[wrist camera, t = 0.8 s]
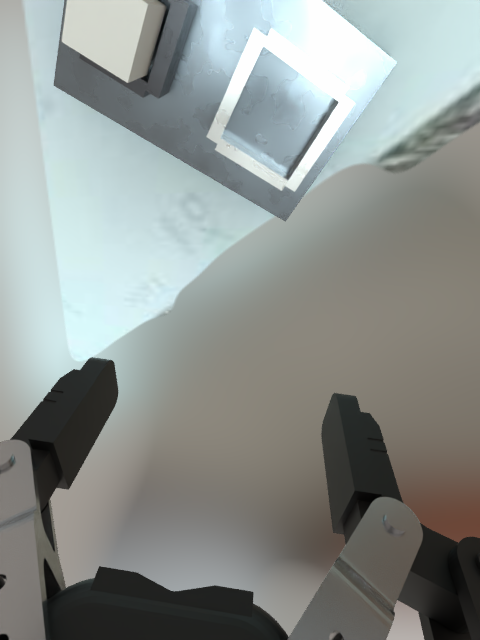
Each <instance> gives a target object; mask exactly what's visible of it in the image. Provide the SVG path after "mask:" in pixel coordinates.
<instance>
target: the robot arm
mask: <svg viewBox="0 0 480 640" xmlns="http://www.w3.org/2000/svg"><path fill="white" fill-rule="evenodd" d="M117 397H118V386H117V379H116V372H115V365H114V362H113V361H112V360H107V359H100V358H93V357H92V358H90V359H88V361H87V362H86V363H85V365H84V366H83V367H82V369H81V370H75V369H74V370H72V371H70V372H69V373H67V374H66V375H64V376H63V377H61V378H60V379H59V380H58V382H57V383H56V384H55V385H54V387H53V388H52V389H51V392H49V393H48V394H47V395H46V396H45V398H44V399H43V402H41V403H40V404H39V405H38V406H37V408H36V409H35V410H34V411H33V413H32V414H31V415H30V416H29V417H28V419H27V420H26V421H25V422H24V424H23V425H22V426H21V427H20V429H19V430H18V431H17V432H16V434H15V435H14V436H13V437H12V438H11V439H10V440H6V441H2V442H0V640H386V638H387V636H388V633H389V631H390V629H391V626H392V623H393V620H394V616H395V613H394V607H395V604H396V601H397V600H399V601H400V602H402V603H404V604H406V605H408V606H410V607H411V608H413V609H415V610H417V611H418V612H419V617H420V621H421V626H422V630H423V635H424V639H425V640H480V538H477V537H466V538H464V539H462V540H461V541H460V542H459V543H458V542H455V541H454V540H451V539H449V538H447V537H445V536H443V535H441V534H439V533H437V532H435V531H432V530H431V529H429V528H427V527H425V526H424V525H422V524H421V523H420V522H419V520H418V518H417V517H416V515H415V514H414V513H413V511H412V510H411V509H410V508H409V507H407V506H406V505H405V504H404V503H403V501H402V498H401V495H400V492H399V489H398V486H397V483H396V479H395V476H394V473H393V469H392V466H391V463H390V460H389V456H388V454H387V450H386V446H385V443H383V437H382V433H381V430H380V427H379V425H378V424H377V422H376V421H375V420H374V418H372V416H371V414H370V413H364V412H360V408H359V404H358V401H357V398H356V396H351V395H344V394H337V393H334V394H333V395H332V397H331V400H330V403H329V406H328V409H327V412H326V415H325V417H324V420H323V424H322V444H323V453H324V462H325V469H326V478H327V486H328V495H329V503H330V511H331V519H332V528H333V533H338V534H344V536H345V543H346V546H345V547H344V549H343V550H342V552H341V554H340V555H339V557H338V558H337V560H336V561H335V563H334V565H333V566H332V568H331V570H330V571H329V573H328V574H327V576H326V578H325V579H324V581H323V582H322V584H321V586H320V587H319V589H318V591H317V592H316V594H315V596H314V597H313V599H312V601H311V602H310V604H309V605H308V607H307V609H306V610H305V612H304V613H303V615H302V617H301V618H300V620H299V622H298V623H297V625H296V626H295V628H294V630H293V632H292V633H291V635H290V636H289V637H288V635H287V634H286V632H285V631H284V630H283V628H282V627H281V626H280V625H279V623H277V621H276V620H275V619H274V618H273V617H272V616H270V615H269V614H268V613H267V612H266V611H264V610H263V609H262V608H260V607H258V606H257V605H255V604H253V592H251V591H245V590H239V589H232V588H227V587H220V586H210V587H203V588H196V589H191V590H183V591H175V592H174V591H170V590H168V589H166V588H164V587H163V586H161V585H159V584H157V583H155V582H153V581H151V580H149V579H148V578H146V577H144V576H142V575H140V574H138V573H136V572H130V571H124V570H118V569H111V568H106V567H99V569H98V571H97V574H96V576H95V578H93V579H88V580H85V581H81V582H79V583H76V584H74V585H72V586H69V587H67V588H66V586H65V581H64V576H63V572H62V568H61V565H60V560H59V556H58V548H57V541H56V534H55V528H54V521H53V514H52V507H51V501H50V497H51V496H52V494H53V492H54V491H55V489H56V488H62V489H69V488H70V486H71V484H72V483H73V481H74V479H75V477H76V476H77V474H78V472H79V470H80V468H81V467H82V464H83V463H84V461H85V459H86V457H87V456H88V454H89V452H90V450H91V448H92V447H93V445H94V443H95V441H96V439H97V438H98V436H99V434H100V432H101V430H102V428H103V427H104V425H105V423H106V421H107V420H108V418H109V416H110V414H111V412H112V410H113V409H114V407H115V404H116V402H117Z"/></svg>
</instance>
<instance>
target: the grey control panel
mask: <svg viewBox="0 0 480 640" xmlns="http://www.w3.org/2000/svg"><path fill="white" fill-rule="evenodd" d="M158 1H160V2H161V3H163V4H164V5H166V6H167V8H166V11H165V15H164V18H163V22H162V25H161V28H160V32H159V35H158V39H157V42H156V46H155V49H154V53H153V56H152V60H151V63H150V67H149V70H148V74H147V75H146V76H144V77H141V78H139V79H136V80H134V81H131V82H129V83H127V82H125V81H124V80H122V79H120V78H119V77H117V76H116V75H114V74H112V73H111V72H109V71H108V70H106V69H104V68H103V67H101V66H100V65H98V64H96V63H95V62H93V61H92V60H90V59H88V58H87V57H85V56H84V55H82V54H80V53H79V52H77V51H76V50H74V49H72V48H71V47H69V46H68V45H66V44H64V43H63V42H62V34H63V27H64V19H65V12H66V4H67V0H65V1H64V9H63V17H62V25H61V32H60V40H59V48H58V56H57V63H56V71H55V79H54V86H56V87H57V88H59V89H61V90H62V91H64V92H66V93H67V94H69V95H71V96H73V97H74V98H76V99H78V100H79V101H81V102H83V103H84V104H86V105H88V106H90V107H91V108H93V109H95V110H96V111H98V112H100V113H102V114H103V115H105V116H107V117H108V118H110V119H112V120H113V121H115V122H117V123H119V124H120V125H122V126H124V127H125V128H127V129H129V130H130V131H132V132H134V133H136V134H137V135H139V136H141V137H142V138H144V139H146V140H148V141H149V142H151V143H153V144H154V145H156V146H158V147H159V148H161V149H163V150H165V151H166V152H168V153H170V154H171V155H173V156H175V157H176V158H178V159H180V160H182V161H183V162H185V163H187V164H188V165H190V166H192V167H193V168H195V169H197V170H199V171H200V172H202V173H204V174H205V175H207V176H209V177H211V178H212V179H214V180H216V181H217V182H219V183H221V184H222V185H224V186H226V187H228V188H229V189H231V190H233V191H234V192H236V193H238V194H239V195H241V196H243V197H245V198H246V199H248V200H250V201H251V202H253V203H255V204H257V205H258V206H260V207H262V208H263V209H265V210H267V211H268V212H270V213H272V214H274V215H275V216H277V217H279V218H281V219H282V220H284V221H286V220H287V218H288V217H289V216H290V214H291V213H292V211H293V210H294V209H295V207H296V206H297V204H298V203H299V201H300V200H301V199H302V197H303V196H304V194H305V193H306V191H307V190H308V189H309V187H310V186H311V184H312V183H313V182H314V180H315V179H316V177H317V176H318V174H319V173H320V172H321V170H322V169H323V167H324V166H325V164H326V163H327V162H328V160H329V159H330V157H331V156H332V155H333V153H334V152H335V150H336V149H337V147H338V146H339V145H340V143H341V142H342V140H343V139H344V137H345V136H346V135H347V133H348V132H349V130H350V129H351V128H352V126H353V125H354V123H355V122H356V120H357V119H358V118H359V116H360V115H361V113H362V112H363V110H364V109H365V108H366V106H367V105H368V103H369V102H370V100H371V99H372V98H373V96H374V95H375V93H376V92H377V91H378V89H379V88H380V86H381V85H382V83H383V82H384V81H385V79H386V78H387V76H388V75H389V73H390V72H391V71H392V69H393V68H394V66H395V65H396V64H397V62H396V61H395V60H394V59H392V58H391V57H390V56H389V55H387V54H386V53H385V52H384V51H383V50H381V49H380V48H379V47H378V46H377V45H375V44H374V43H373V42H372V41H370V40H369V39H368V38H367V37H366V36H364V35H363V34H362V33H361V32H360V31H358V30H357V29H356V28H355V27H353V26H352V25H351V24H350V23H349V22H347V21H346V20H345V19H344V18H343V17H341V16H340V15H339V14H338V13H336V12H335V11H334V10H333V9H332V8H330V7H329V6H328V5H327V4H326V3H324V2H323V1H322V0H158Z"/></svg>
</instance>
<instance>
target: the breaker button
mask: <svg viewBox="0 0 480 640" xmlns="http://www.w3.org/2000/svg"><path fill="white" fill-rule="evenodd" d="M166 8H167V6H166V5H164V4H163V3H161V2H160V1H158V0H67V4H66V12H65V19H64V27H63V34H62V42H63V43H64V44H66V45H68V46H69V47H71V48H72V49H74V50H76V51H77V52H79V53H80V54H82V55H84V56H85V57H87V58H88V59H90V60H92V61H93V62H95V63H96V64H98V65H100V66H101V67H103V68H104V69H106V70H108V71H109V72H111V73H112V74H114V75H116V76H117V77H119V78H120V79H122V80H124V81H125V82H127V83H129V82H131V81H134V80H136V79H139V78H141V77H144V76H146V75H147V74H148V70H149V67H150V63H151V60H152V56H153V53H154V49H155V46H156V42H157V39H158V35H159V32H160V28H161V25H162V22H163V18H164V15H165V11H166Z"/></svg>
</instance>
